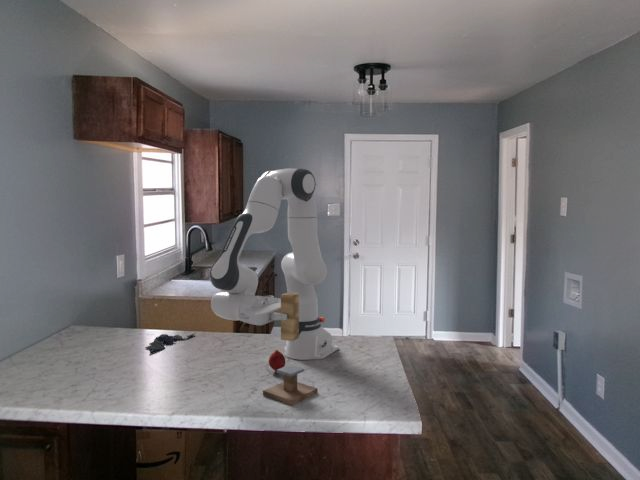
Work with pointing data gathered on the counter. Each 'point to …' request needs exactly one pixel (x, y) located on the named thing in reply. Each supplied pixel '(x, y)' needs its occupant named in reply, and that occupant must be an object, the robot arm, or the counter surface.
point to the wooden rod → (290, 316)
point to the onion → (276, 360)
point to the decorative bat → (163, 339)
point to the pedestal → (290, 387)
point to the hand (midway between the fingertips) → (292, 315)
